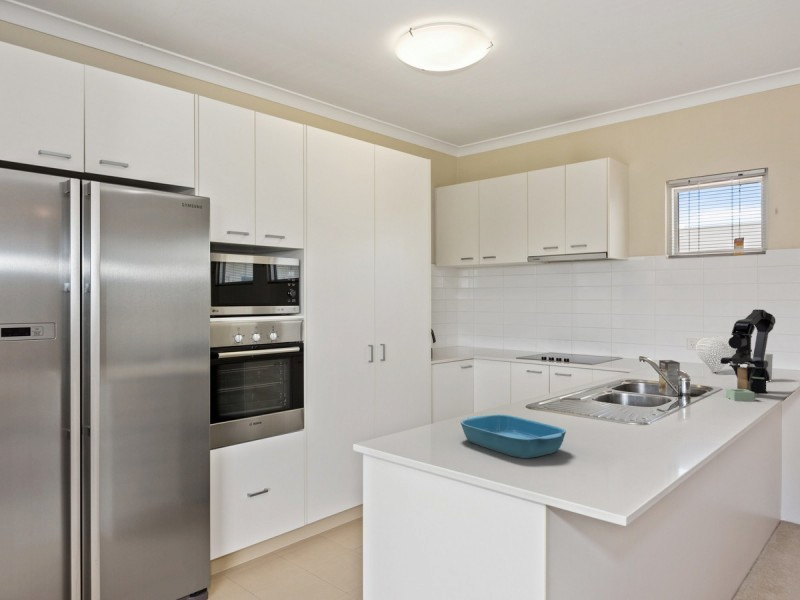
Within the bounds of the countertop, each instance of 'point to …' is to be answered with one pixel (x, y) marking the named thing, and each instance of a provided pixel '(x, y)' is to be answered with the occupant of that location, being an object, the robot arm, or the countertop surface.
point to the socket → (740, 394)
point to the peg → (742, 378)
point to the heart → (714, 351)
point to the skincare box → (768, 358)
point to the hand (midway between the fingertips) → (743, 380)
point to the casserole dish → (513, 435)
